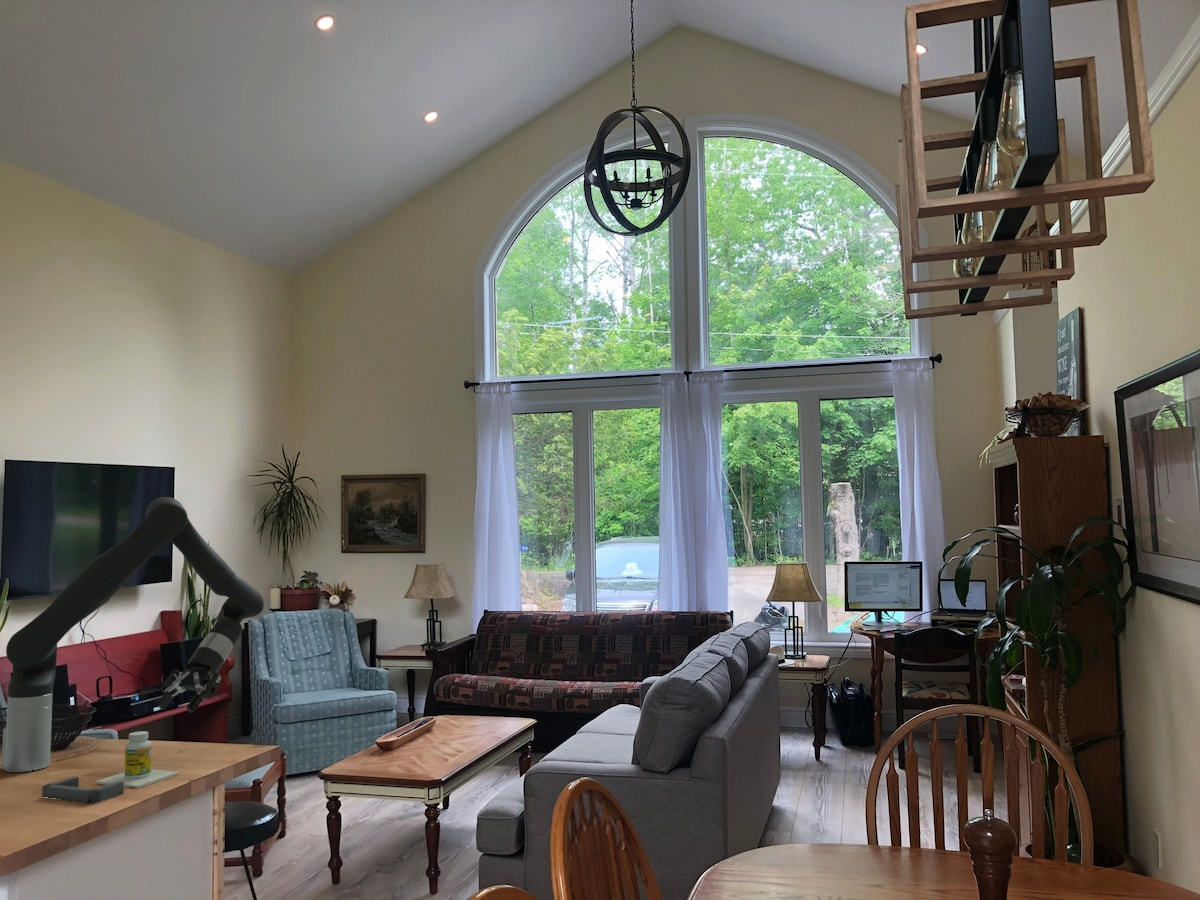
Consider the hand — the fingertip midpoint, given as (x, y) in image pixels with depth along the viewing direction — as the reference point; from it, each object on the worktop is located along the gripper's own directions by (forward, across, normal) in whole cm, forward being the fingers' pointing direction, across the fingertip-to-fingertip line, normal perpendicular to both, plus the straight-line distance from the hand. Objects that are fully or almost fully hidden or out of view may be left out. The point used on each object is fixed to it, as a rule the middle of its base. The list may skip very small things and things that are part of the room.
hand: (175, 709), depth 224 cm
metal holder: (+27, 0, -8) cm, 28 cm away
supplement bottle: (+18, +1, +1) cm, 18 cm away
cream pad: (+18, +1, +1) cm, 18 cm away
